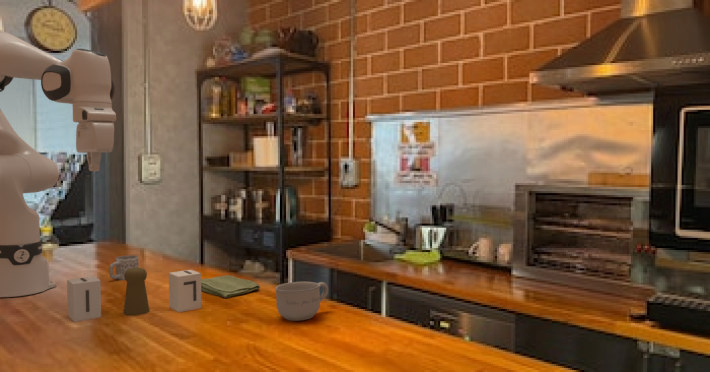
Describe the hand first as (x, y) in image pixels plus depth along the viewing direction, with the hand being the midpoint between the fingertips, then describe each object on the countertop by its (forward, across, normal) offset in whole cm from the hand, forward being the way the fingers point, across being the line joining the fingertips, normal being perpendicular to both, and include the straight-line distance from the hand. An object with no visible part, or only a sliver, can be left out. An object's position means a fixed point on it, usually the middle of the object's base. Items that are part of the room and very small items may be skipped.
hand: (94, 171), depth 136 cm
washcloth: (+36, +2, +35) cm, 50 cm away
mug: (+35, -32, +16) cm, 50 cm away
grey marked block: (+35, +4, -4) cm, 36 cm away
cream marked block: (+35, +12, +18) cm, 41 cm away
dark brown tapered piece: (+35, +8, +7) cm, 37 cm away
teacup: (+35, +38, +37) cm, 64 cm away
